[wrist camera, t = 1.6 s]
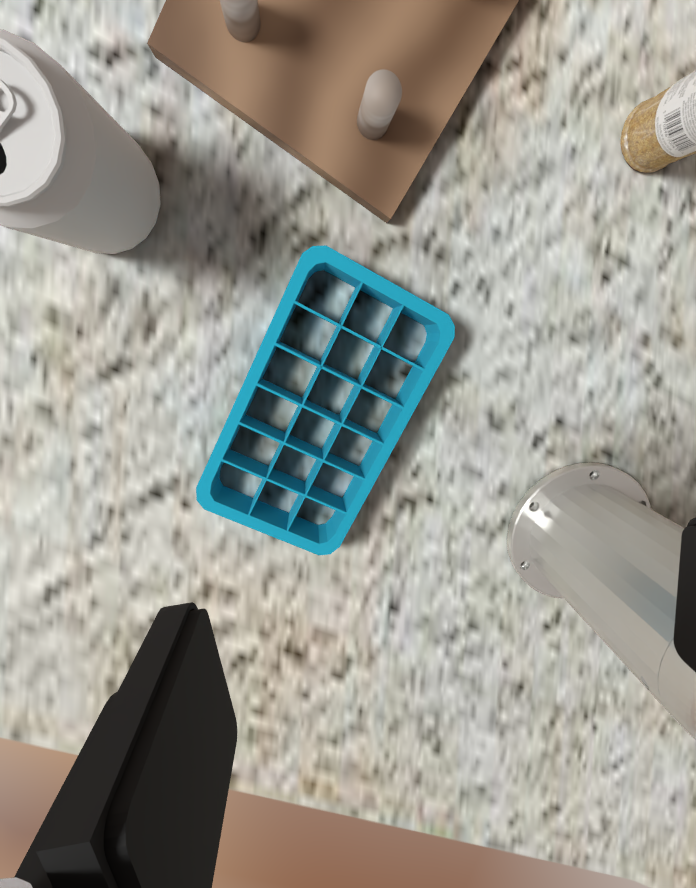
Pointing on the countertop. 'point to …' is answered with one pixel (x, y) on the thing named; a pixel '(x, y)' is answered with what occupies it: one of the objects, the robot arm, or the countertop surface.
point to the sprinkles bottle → (662, 128)
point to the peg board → (337, 77)
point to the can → (67, 159)
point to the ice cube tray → (323, 412)
